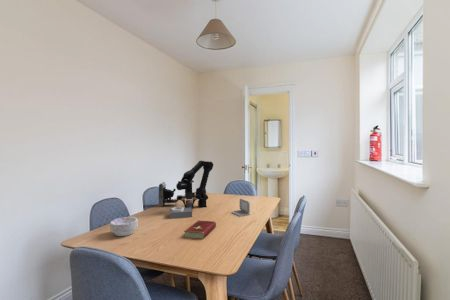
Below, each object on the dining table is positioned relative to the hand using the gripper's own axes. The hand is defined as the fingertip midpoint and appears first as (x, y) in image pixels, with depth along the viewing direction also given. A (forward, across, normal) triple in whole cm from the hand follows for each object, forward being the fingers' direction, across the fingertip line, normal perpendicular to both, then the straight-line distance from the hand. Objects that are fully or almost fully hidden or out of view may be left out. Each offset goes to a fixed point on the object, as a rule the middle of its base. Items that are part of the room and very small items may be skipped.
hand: (188, 207), depth 199 cm
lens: (+2, 0, 0) cm, 2 cm away
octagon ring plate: (+2, -7, -13) cm, 15 cm away
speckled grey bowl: (+2, -41, -43) cm, 59 cm away
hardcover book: (+3, +4, -52) cm, 52 cm away
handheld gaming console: (+2, +37, -20) cm, 42 cm away
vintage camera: (+2, -16, +22) cm, 27 cm away
